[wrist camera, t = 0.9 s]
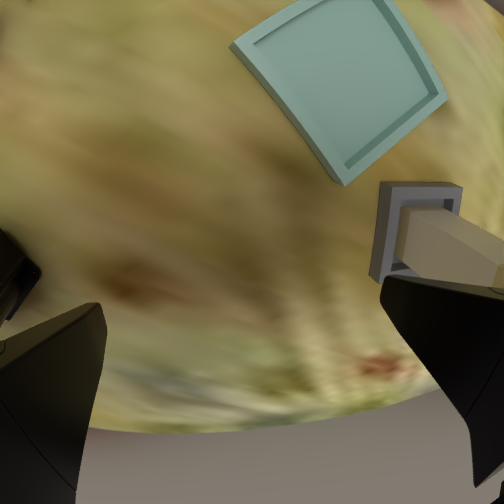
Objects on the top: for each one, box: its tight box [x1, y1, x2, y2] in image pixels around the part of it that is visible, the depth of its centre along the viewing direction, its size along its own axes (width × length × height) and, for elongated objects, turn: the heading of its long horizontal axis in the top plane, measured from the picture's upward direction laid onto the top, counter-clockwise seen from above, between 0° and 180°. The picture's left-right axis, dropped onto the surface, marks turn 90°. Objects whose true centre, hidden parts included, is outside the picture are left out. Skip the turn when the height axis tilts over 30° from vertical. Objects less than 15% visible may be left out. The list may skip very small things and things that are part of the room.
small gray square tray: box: [369, 182, 463, 284], centre depth 25 cm, size 8×9×2 cm
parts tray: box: [229, 0, 449, 186], centre depth 18 cm, size 12×12×2 cm
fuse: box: [393, 205, 504, 288], centre depth 19 cm, size 4×4×12 cm
